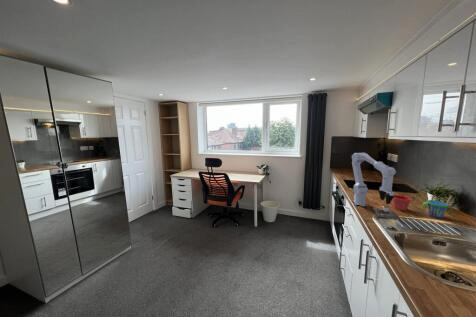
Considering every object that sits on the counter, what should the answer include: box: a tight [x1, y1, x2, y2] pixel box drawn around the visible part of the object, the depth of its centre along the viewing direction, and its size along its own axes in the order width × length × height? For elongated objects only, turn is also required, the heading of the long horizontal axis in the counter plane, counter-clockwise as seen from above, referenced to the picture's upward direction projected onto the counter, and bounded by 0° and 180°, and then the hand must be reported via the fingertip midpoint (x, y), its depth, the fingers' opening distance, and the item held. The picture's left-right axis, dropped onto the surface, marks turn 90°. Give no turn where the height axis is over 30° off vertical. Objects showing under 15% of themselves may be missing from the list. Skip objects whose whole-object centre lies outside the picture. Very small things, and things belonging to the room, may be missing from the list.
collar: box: [372, 207, 400, 220], centre depth 137 cm, size 12×12×4 cm
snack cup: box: [421, 199, 453, 219], centre depth 133 cm, size 16×10×10 cm
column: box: [381, 204, 390, 213], centre depth 137 cm, size 4×4×6 cm
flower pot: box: [392, 194, 412, 212], centre depth 146 cm, size 11×11×10 cm
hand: (385, 201), depth 135 cm, fingers open, 7 cm apart
